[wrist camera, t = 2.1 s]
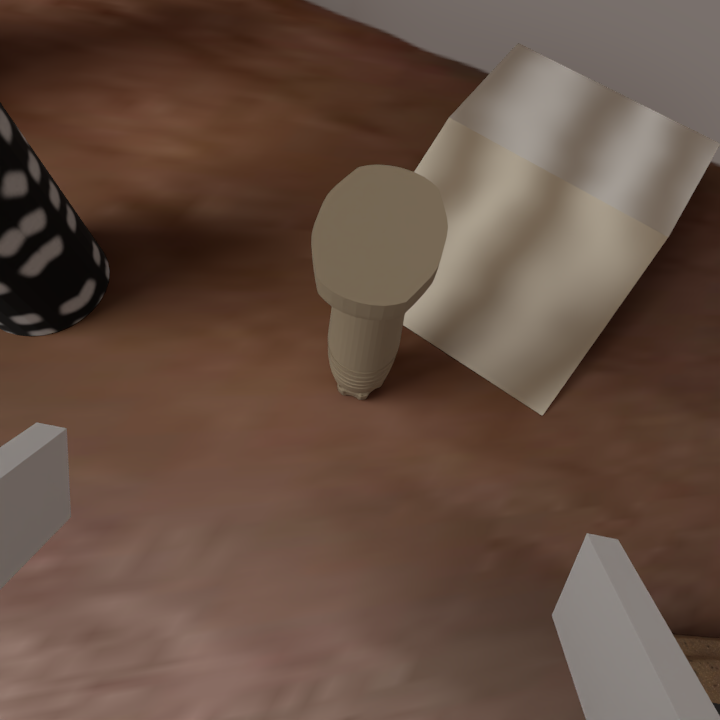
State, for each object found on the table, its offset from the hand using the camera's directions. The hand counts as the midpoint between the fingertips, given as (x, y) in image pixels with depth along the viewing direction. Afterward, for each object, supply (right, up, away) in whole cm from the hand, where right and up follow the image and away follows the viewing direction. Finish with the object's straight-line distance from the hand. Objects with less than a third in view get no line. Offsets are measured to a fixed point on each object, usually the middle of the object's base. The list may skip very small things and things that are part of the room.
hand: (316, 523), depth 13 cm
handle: (+1, +3, +20) cm, 20 cm away
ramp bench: (+13, +12, +26) cm, 32 cm away
